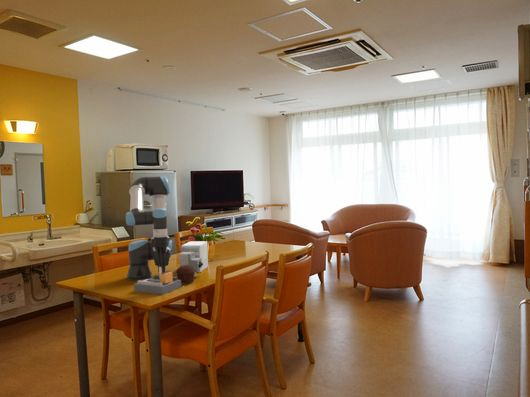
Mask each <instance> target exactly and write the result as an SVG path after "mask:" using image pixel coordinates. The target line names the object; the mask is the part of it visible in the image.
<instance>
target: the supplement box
mask: <svg viewBox="0 0 530 397" xmlns="http://www.w3.org/2000/svg"><path fill="white" fill-rule="evenodd" d="M180 248H181V250H180V251H181V252H180V253H182V252H195V258H202V263H203V265H202V270H200V271H199V272H198V273H201V272H203V271H204V270H205V269H207V268H208V267H209V259H208V255H209V254H208V251H209V250H208V241H207V240H206V241H203V240H201V241H200V240H197V241H196V240H195V241H194V240H193V241H192V240H191V241H188V242H185V243H184V244H182V245H181V246H180Z"/></svg>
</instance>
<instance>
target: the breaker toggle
mask: <svg viewBox="0 0 530 397" xmlns="http://www.w3.org/2000/svg"><path fill="white" fill-rule="evenodd" d="M173 277H174V276H173V271H171V270H167V271H166V270H165V272H163V273H161V274H160V283H168V282H171V281H173Z"/></svg>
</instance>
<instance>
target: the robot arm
mask: <svg viewBox="0 0 530 397" xmlns="http://www.w3.org/2000/svg"><path fill="white" fill-rule="evenodd" d="M128 189H129V191H128V193H129V195H130V206H129V207H130V208H129V211H128V212H126V213H125V224H126V225H127V226H143V225H144V226H145V225H146V226H147V225H152V234H153V236H152V237H151V239H150V241H148V239H140V240H139V239H138V240H136V241H131V242H130V243H129V244H128V262H129V263H128V264H129V267H128V270H127V273H126V279H127V280H129V281H139V280H140V281H143V280H146V279H150V278H153V276H152V275H153V273H152V271H151V267H150V265H149V261H153V262H154V265H155V266H157V270H158V274H159V277H160V274H161V273H163V272H166V267H168V266H169V262H170V258H171V257H172V249H173V248H172V247H173V240H171V239H170V236H168V213H167V206H166V204H167V203H166V199H167V198H168V195H170V193H171V192H170V184H169V181H168V177H166V176H141V177H138V178H137V179H135V180H134V181H133V182H132V183H131V184H130V186H129V188H128ZM145 195H146V196H147V195H148V197H149V199H150V200H151V207H152V208H151V209H152V211H147V210H146V211H144V196H145Z"/></svg>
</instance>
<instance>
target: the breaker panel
mask: <svg viewBox="0 0 530 397" xmlns="http://www.w3.org/2000/svg"><path fill="white" fill-rule="evenodd" d="M136 281H137V282H136V283H133V291H134V292H138V293H147V294H155V295H165V294H168V293H170V292H173V291H175V290H177V289H180V288H182V284H181V280H178V278H177V276H173V281H171V282H168V283H160V277H159V275H157V274H155V275H153V276H152V277H150V278H147V279H143V280H136Z"/></svg>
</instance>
